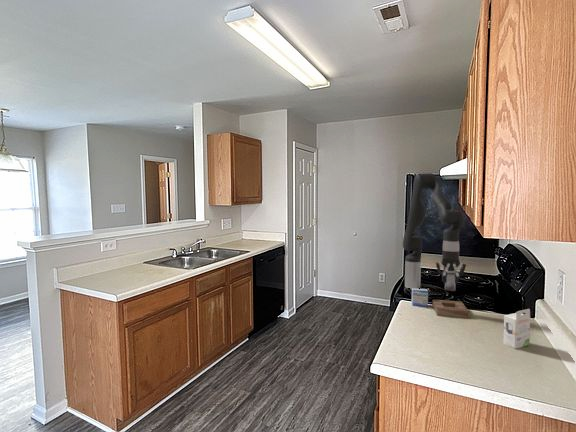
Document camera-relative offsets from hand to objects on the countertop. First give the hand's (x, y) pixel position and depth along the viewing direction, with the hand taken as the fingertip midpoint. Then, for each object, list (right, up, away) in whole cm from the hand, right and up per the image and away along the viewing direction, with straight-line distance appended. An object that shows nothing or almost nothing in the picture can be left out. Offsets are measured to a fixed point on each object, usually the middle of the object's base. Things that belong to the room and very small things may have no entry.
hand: (450, 282), depth 162 cm
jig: (0, -15, +1) cm, 15 cm away
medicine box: (-11, -15, +11) cm, 21 cm away
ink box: (+8, -17, -35) cm, 40 cm away
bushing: (0, -3, 0) cm, 3 cm away
